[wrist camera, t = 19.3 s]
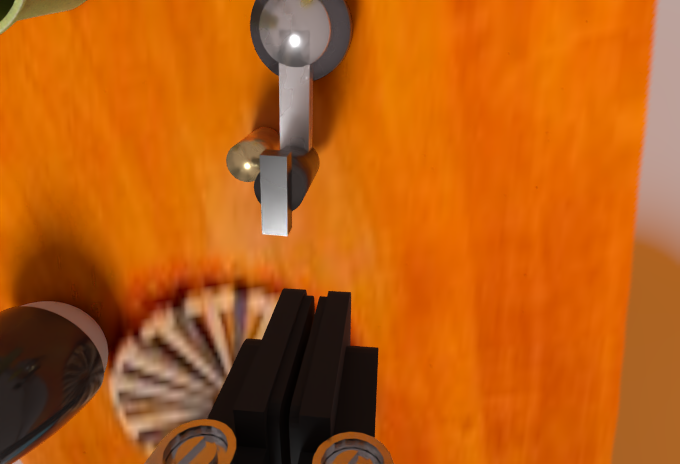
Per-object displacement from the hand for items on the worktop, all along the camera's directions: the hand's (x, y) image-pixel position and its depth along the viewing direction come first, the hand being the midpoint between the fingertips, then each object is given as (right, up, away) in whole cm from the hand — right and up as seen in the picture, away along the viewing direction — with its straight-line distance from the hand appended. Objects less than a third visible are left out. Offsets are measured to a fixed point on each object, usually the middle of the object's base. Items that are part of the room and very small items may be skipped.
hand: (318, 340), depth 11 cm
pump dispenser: (-24, -6, +30) cm, 39 cm away
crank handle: (-2, +11, +17) cm, 20 cm away
